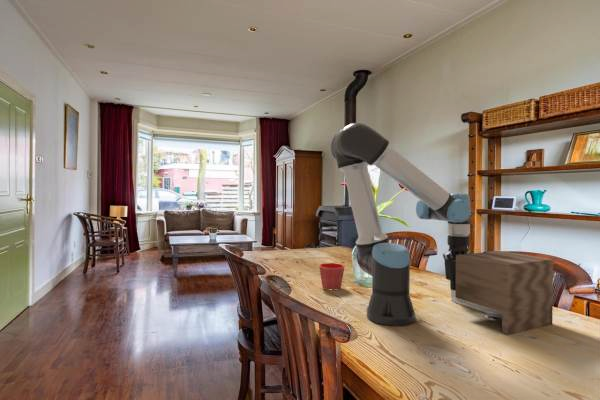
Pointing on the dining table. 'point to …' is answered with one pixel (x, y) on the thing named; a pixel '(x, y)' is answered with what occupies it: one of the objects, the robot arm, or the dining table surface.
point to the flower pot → (331, 275)
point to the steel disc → (493, 317)
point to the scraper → (476, 306)
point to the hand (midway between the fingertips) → (457, 297)
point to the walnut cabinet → (508, 287)
